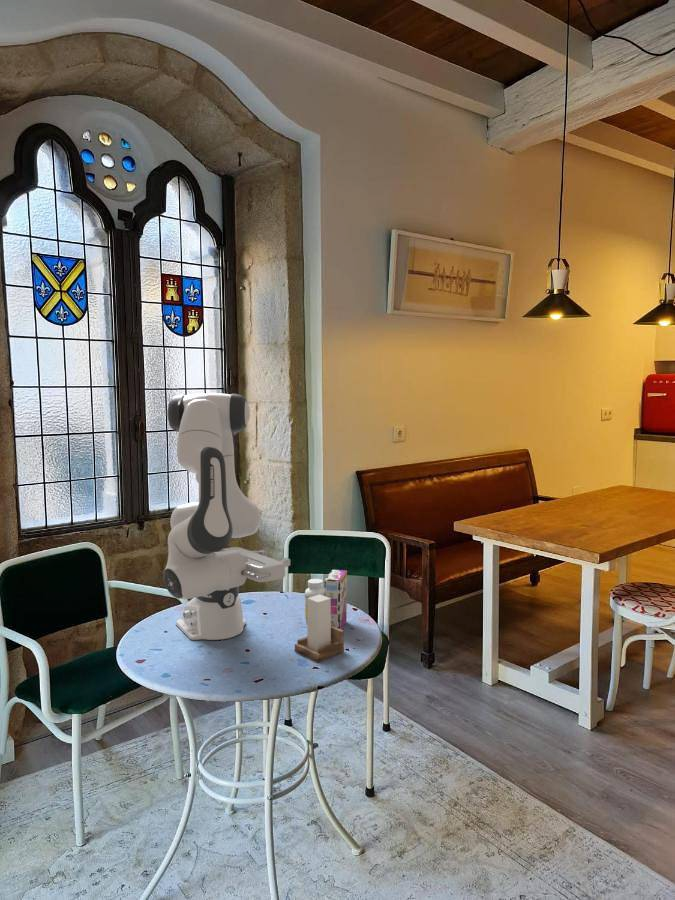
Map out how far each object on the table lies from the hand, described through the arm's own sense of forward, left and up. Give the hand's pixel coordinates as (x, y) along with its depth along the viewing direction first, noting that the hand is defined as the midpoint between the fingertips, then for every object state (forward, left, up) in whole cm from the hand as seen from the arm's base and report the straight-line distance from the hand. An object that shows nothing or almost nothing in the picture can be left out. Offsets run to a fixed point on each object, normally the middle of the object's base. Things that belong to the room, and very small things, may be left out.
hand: (277, 557), depth 161 cm
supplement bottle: (-17, +28, -29) cm, 44 cm away
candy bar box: (-9, +29, -29) cm, 42 cm away
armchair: (0, +14, -29) cm, 32 cm away
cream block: (0, +14, -28) cm, 31 cm away
